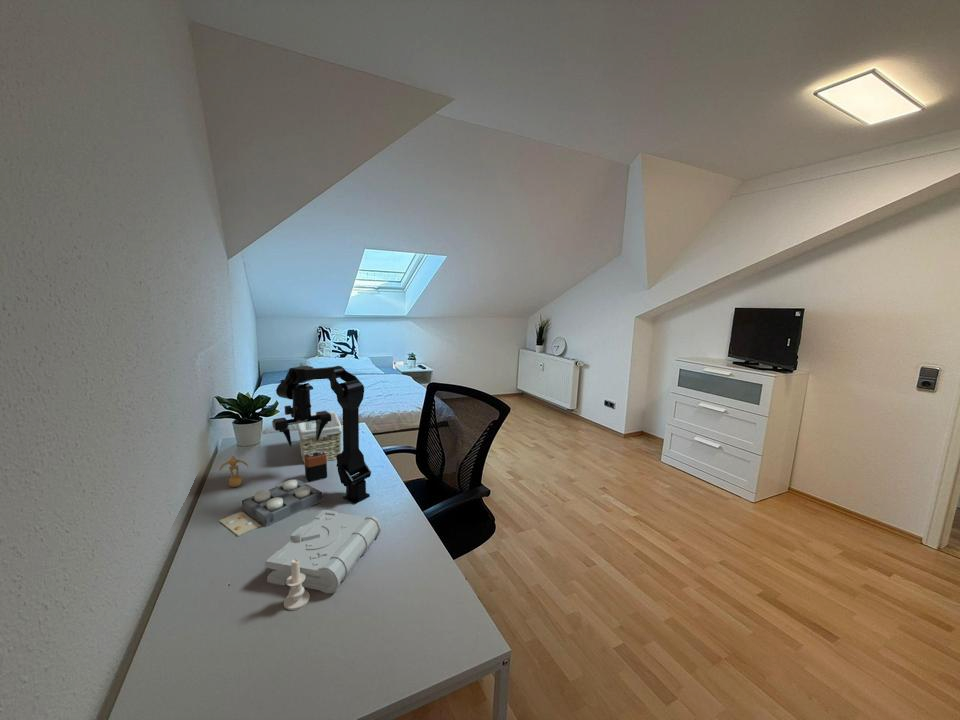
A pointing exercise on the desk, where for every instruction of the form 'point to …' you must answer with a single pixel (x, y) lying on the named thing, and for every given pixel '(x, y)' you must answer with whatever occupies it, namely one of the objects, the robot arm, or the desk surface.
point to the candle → (296, 589)
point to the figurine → (236, 479)
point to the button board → (289, 504)
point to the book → (325, 550)
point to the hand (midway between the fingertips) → (303, 442)
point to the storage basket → (321, 438)
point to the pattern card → (239, 523)
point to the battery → (315, 466)
